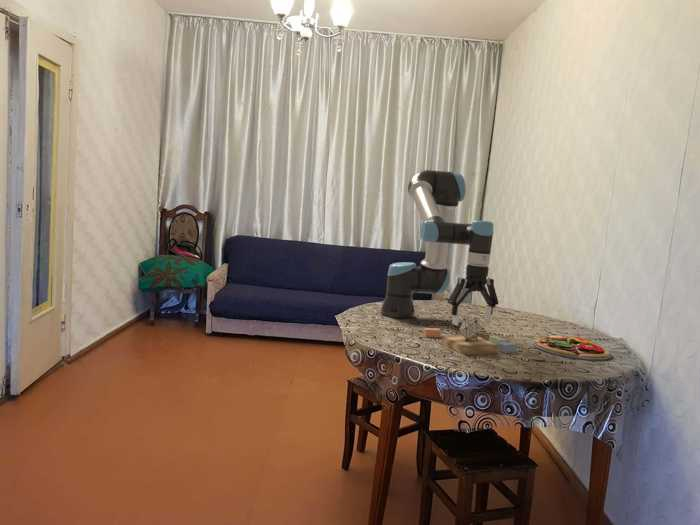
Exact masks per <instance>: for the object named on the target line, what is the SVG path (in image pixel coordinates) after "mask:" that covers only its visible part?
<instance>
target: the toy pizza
mask: <svg viewBox="0 0 700 525" xmlns="http://www.w3.org/2000/svg"><path fill="white" fill-rule="evenodd" d="M532 345H533V346H534V347H535V346H536V347H535V348H537V349H538V348H539V350H540V349H541V350H540V351H542V350H543V351H542V352H545V351H546V352H545V353H548V352H549V353H548V354H551V353H552V355H554V354H556V356H558V355H560V356H559V357H563V356H564V358H568V357H569V359H574V358H575V360H583V361H605V360H609V359H610V358H612V356H613V354H612V353H611V352H610V351H608V350H607V349H606V348H604V347H602V346H599V345H597V344H595V343H594V342H592V341H591V340H589V339H586V338H583V337H577V336H574V337H570V338H569V339H568V337H567V336H562V335H550V336H544V337H541V338H540V337H539V338H537V339H535V340H533V342H532Z"/></svg>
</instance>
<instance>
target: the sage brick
mask: <svg viewBox="0 0 700 525" xmlns="http://www.w3.org/2000/svg"><path fill="white" fill-rule="evenodd" d="M488 341H490V342H492V343H495V344H497V345H498V344H499V343H505V342H507V339H506V338H502V337H500V336H497V335H489V336H488Z"/></svg>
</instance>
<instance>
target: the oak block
mask: <svg viewBox="0 0 700 525" xmlns="http://www.w3.org/2000/svg"><path fill="white" fill-rule="evenodd" d="M477 339H478V341H477ZM477 339H467V341H466V338H464V336H463V335H462V334H459V335H458V334H457V335H456V334H455V335H452V334H451V335H441V341H440V342H441V345H442V344H443V345H442V346H445V347H447V348H449V349H451V350H453V349H454V350H453V351H455V350H456V352H458V353H460V354H462V353H463V354H462V355H464V354H468V355H485V354H486V355H487V354H488V355H490V354H498V345H497V344H495V343H492V342H490V341H489V340H487V339H485V338H482V337H480V336H478V338H477Z"/></svg>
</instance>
